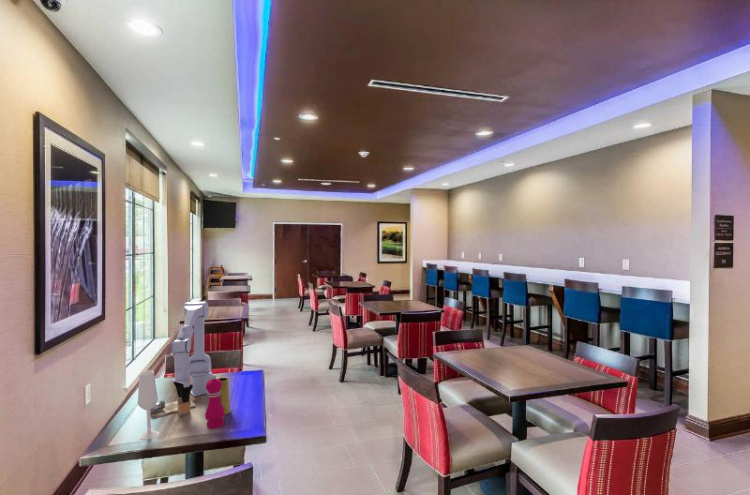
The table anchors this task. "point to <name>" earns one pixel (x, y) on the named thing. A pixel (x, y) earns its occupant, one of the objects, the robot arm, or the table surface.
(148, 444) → the table surface
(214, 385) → the pepper mill
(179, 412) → the orange rectangular block
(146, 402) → the champagne flute
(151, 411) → the shaft
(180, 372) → the robot arm
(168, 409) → the plate
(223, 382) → the vase
